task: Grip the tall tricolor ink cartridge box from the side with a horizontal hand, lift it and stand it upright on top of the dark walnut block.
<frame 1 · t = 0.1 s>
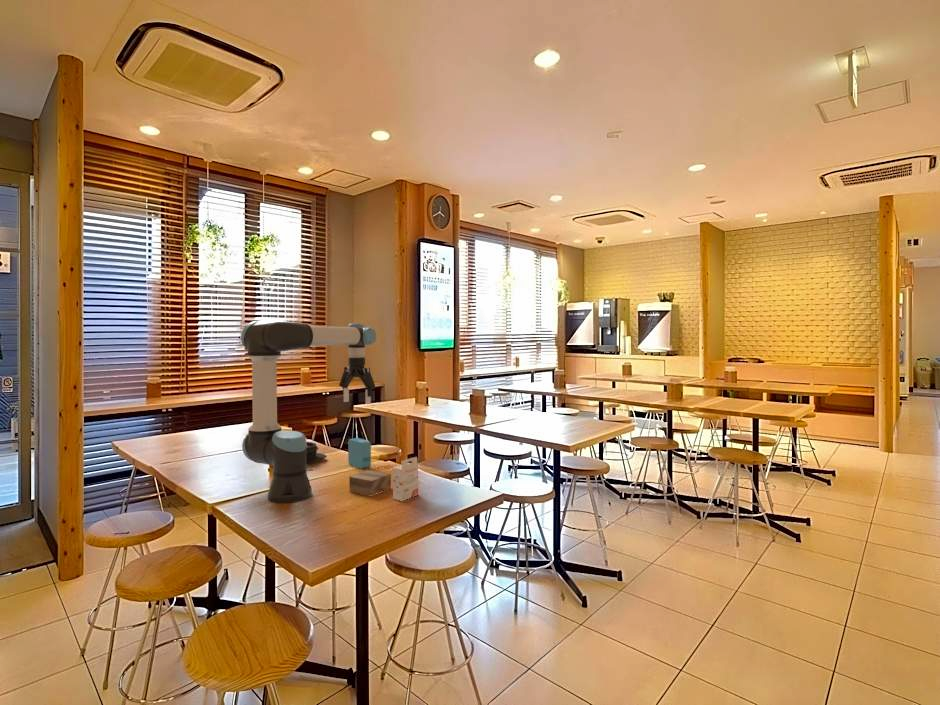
hand: (357, 402, 232), 28 cm above the table, tool pointing down, fingers open, 13 cm apart
walnut block: (370, 490, 191), on the table
casserole: (299, 463, 232), on the table
ink cartridge box: (405, 498, 183), on the table
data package: (359, 466, 226), on the table
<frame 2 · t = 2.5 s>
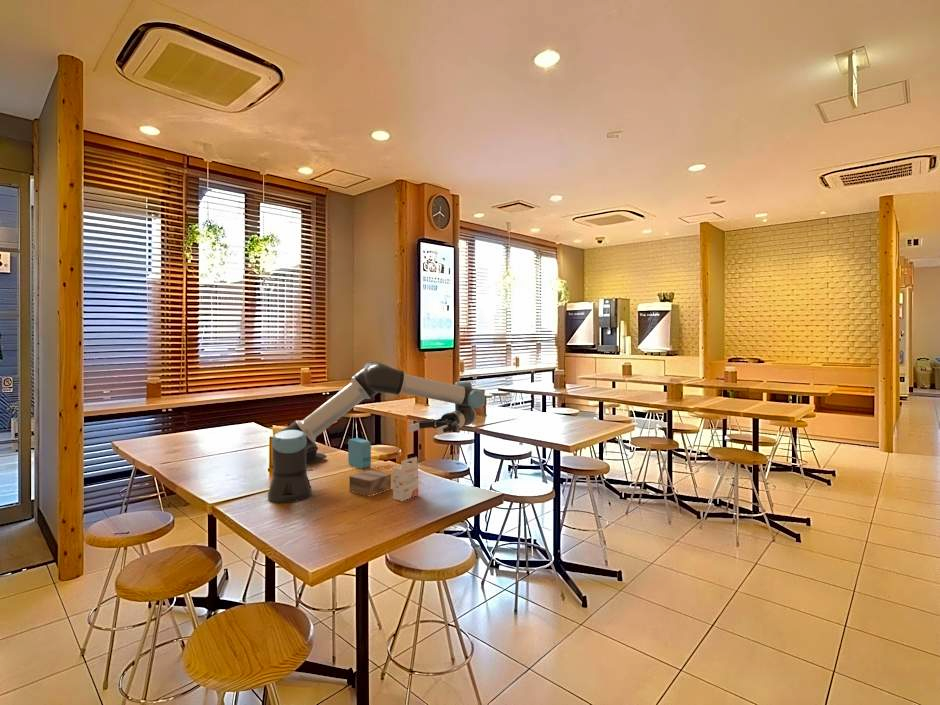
hand: (422, 430, 193), 23 cm above the table, tool horizontal, fingers open, 13 cm apart
nothing on the table moved.
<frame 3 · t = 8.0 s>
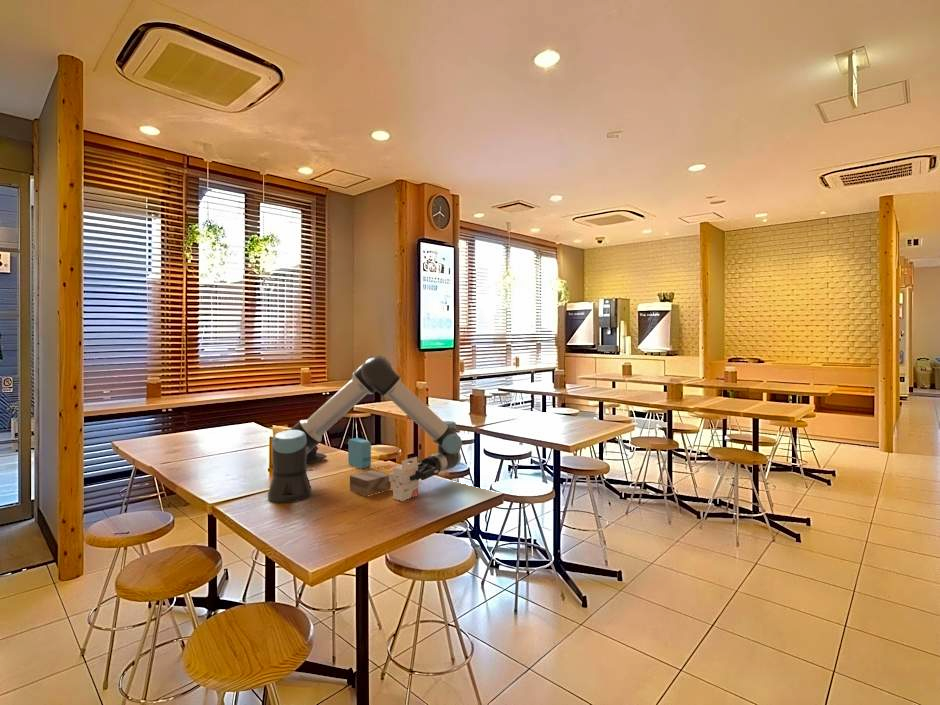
hand: (396, 479, 178), 8 cm above the table, tool horizontal, fingers closed on ink cartridge box, 5 cm apart
ink cartridge box: (405, 497, 183), on the table, touching gripper
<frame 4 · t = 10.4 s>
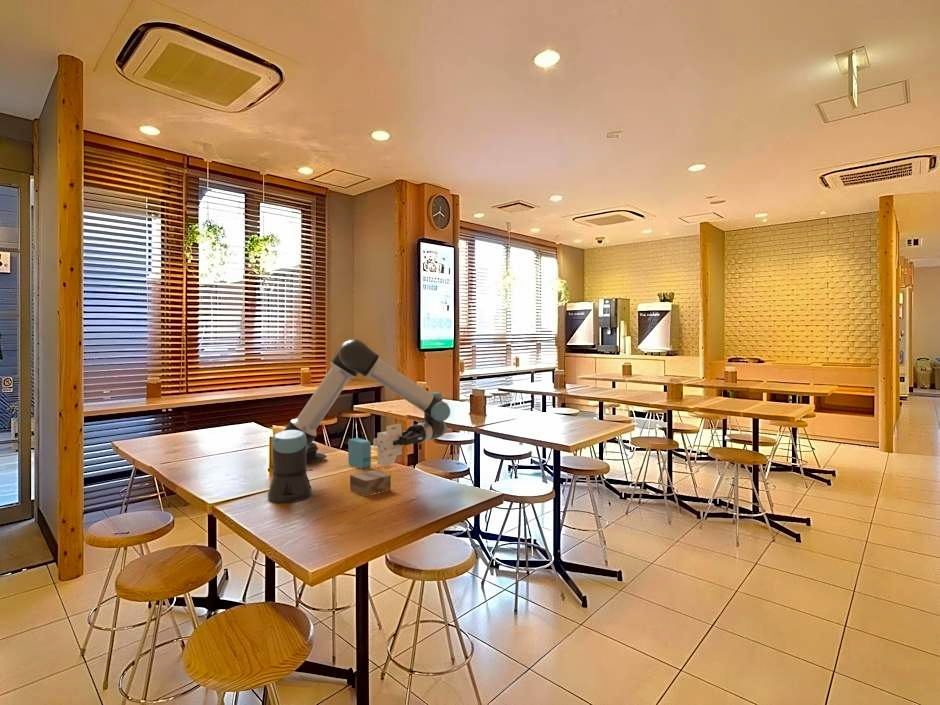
hand: (380, 443, 182), 20 cm above the table, tool horizontal, fingers closed on ink cartridge box, 5 cm apart
ink cartridge box: (389, 463, 187), point 11 cm above the table, touching gripper
when the fingers open (15 cm above the table, at t = 12.8 s): ink cartridge box drops 2 cm, resting on walnut block.
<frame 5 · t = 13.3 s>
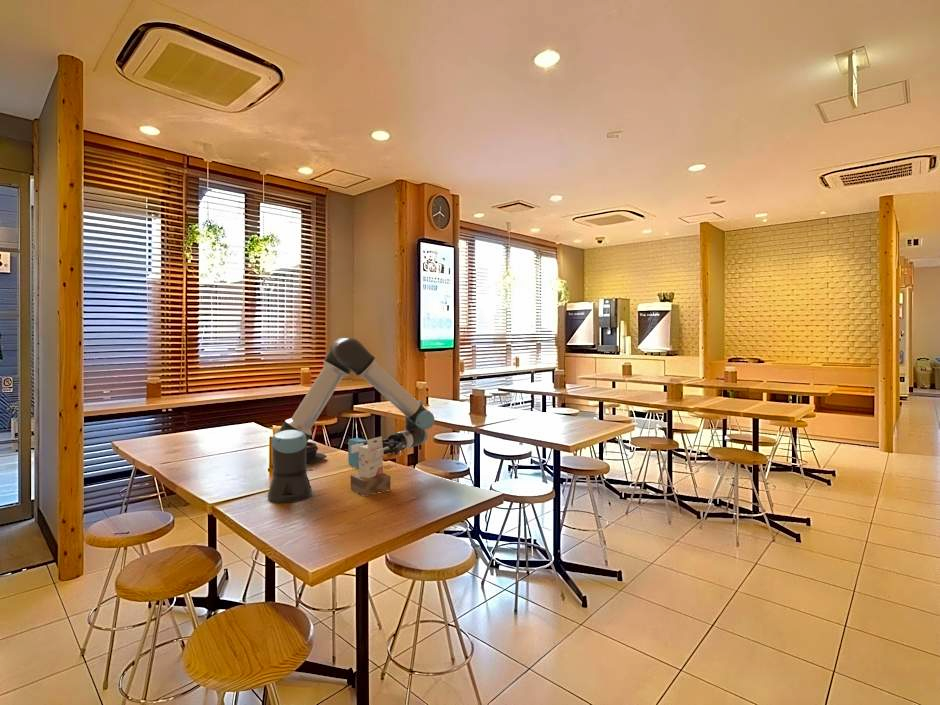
hand: (363, 451, 188), 15 cm above the table, tool horizontal, fingers open, 12 cm apart
walnut block: (370, 490, 191), on the table, touching ink cartridge box
ink cartridge box: (370, 475, 191), point 5 cm above the table, touching walnut block
everything else where it was.
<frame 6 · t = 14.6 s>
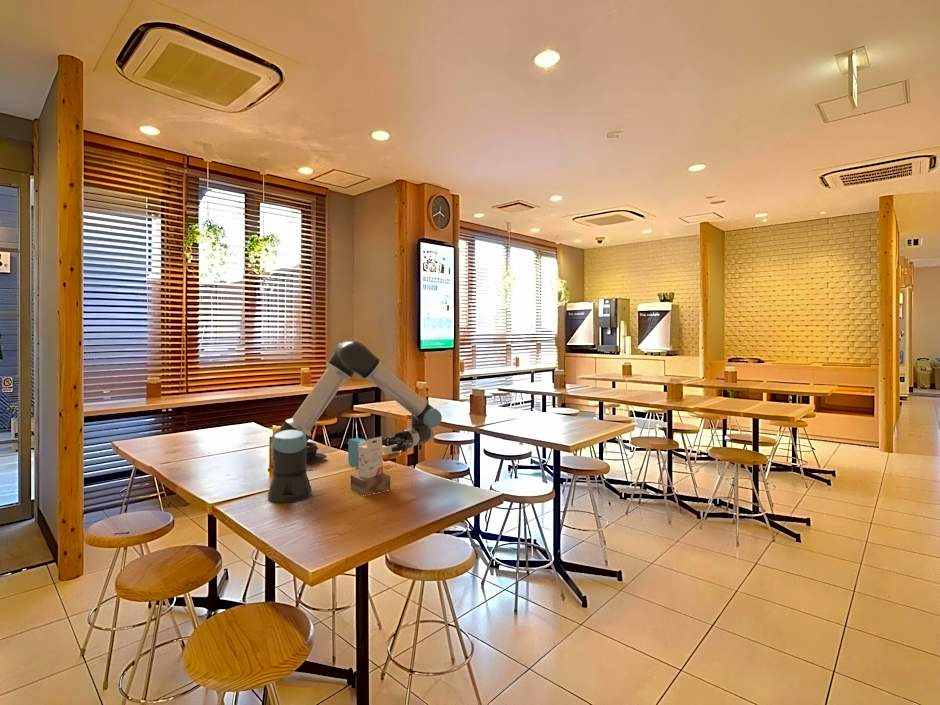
hand: (371, 449, 191), 16 cm above the table, tool horizontal, fingers open, 13 cm apart
nothing on the table moved.
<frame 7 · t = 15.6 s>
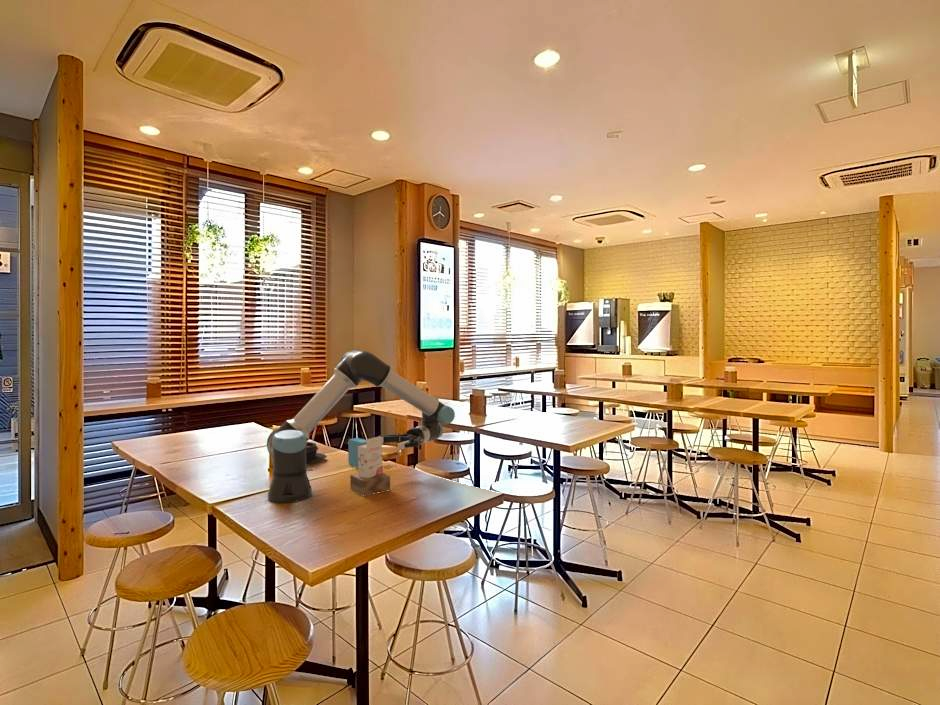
hand: (385, 445, 198), 16 cm above the table, tool horizontal, fingers open, 13 cm apart
nothing on the table moved.
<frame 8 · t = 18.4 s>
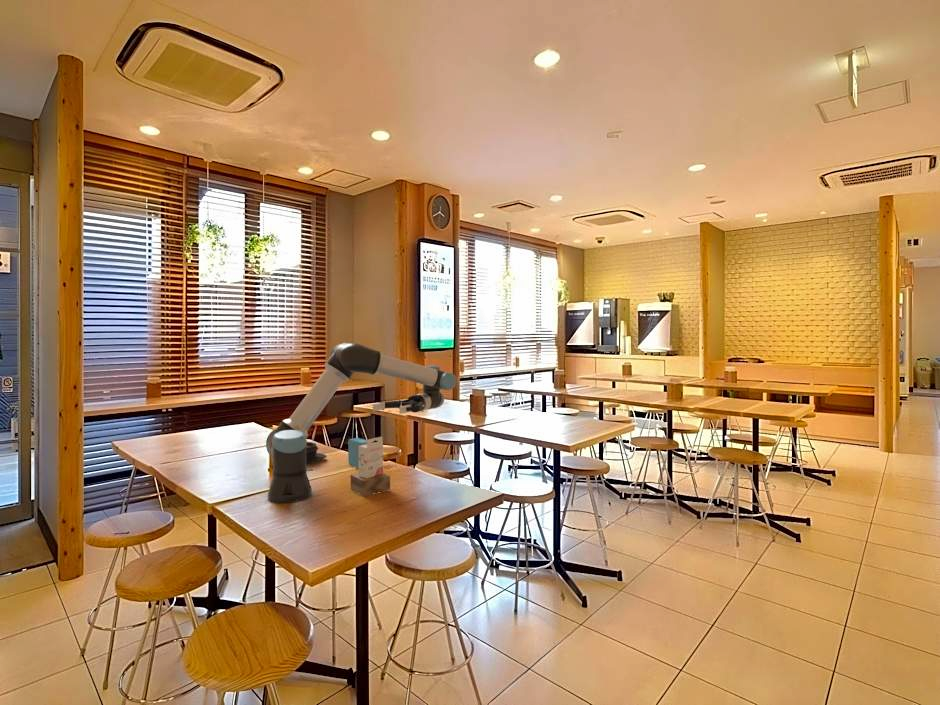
hand: (386, 408, 199), 30 cm above the table, tool horizontal, fingers open, 13 cm apart
at the end: ink cartridge box inside the target area on the walnut block (0.2 cm from its centre), point 5.9 cm above the walnut block's base; ink cartridge box tilted 2°; the gripper is holding nothing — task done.
